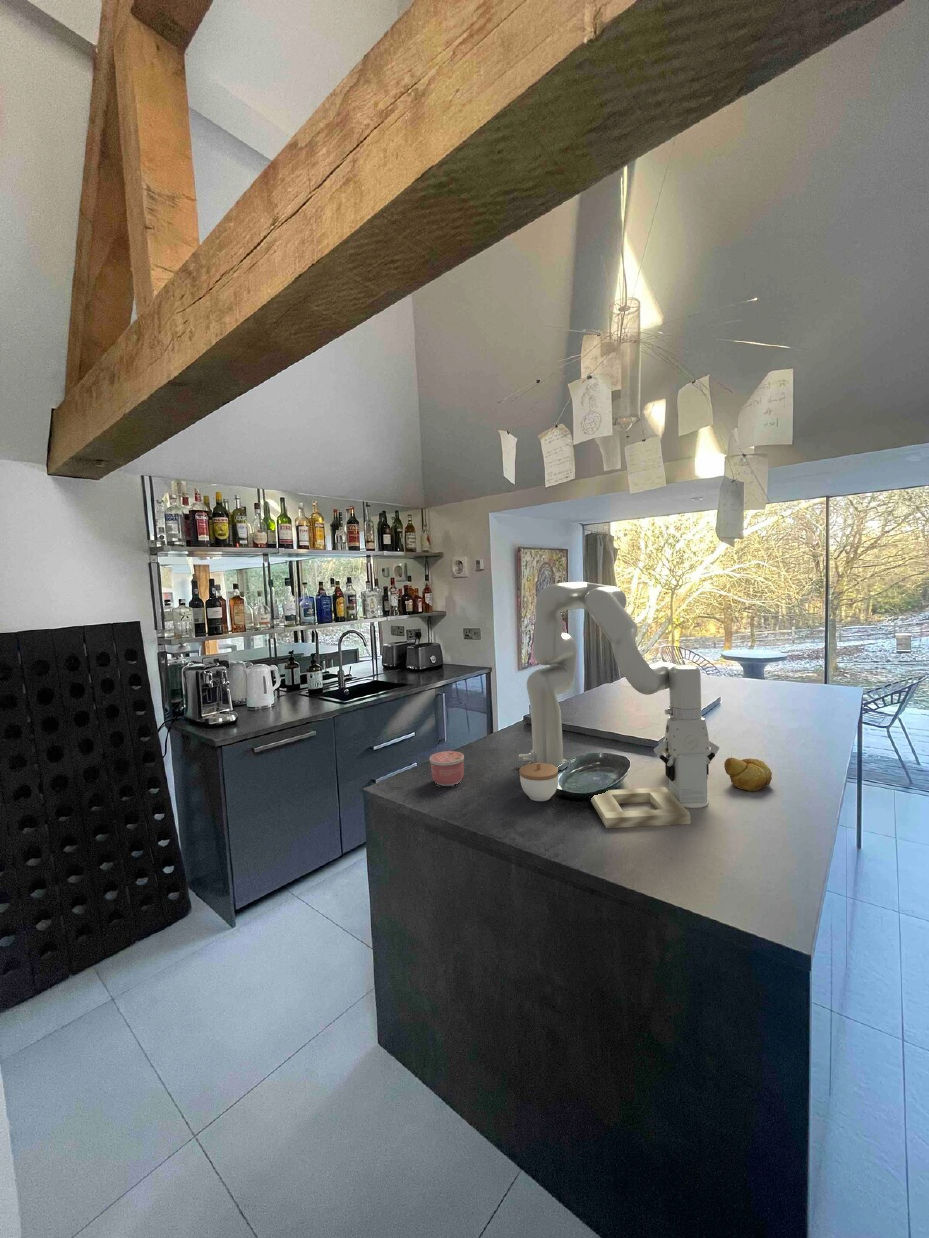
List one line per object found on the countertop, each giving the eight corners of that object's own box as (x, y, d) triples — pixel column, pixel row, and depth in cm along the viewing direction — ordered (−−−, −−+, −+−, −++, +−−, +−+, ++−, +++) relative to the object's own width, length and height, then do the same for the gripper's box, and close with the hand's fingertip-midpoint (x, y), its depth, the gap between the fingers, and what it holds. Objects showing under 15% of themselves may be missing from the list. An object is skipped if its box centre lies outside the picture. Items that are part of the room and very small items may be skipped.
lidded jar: (561, 789, 147) (559, 757, 146) (557, 806, 136) (556, 771, 136) (523, 787, 149) (522, 756, 149) (517, 803, 139) (515, 769, 138)
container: (458, 790, 150) (457, 763, 150) (425, 787, 154) (423, 761, 153) (469, 777, 160) (468, 751, 160) (438, 774, 164) (437, 750, 163)
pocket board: (606, 828, 123) (606, 817, 123) (590, 800, 139) (589, 790, 139) (690, 823, 123) (690, 813, 122) (664, 796, 139) (664, 787, 138)
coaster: (676, 809, 131) (676, 806, 131) (661, 793, 141) (661, 790, 141) (716, 807, 130) (716, 804, 130) (698, 791, 140) (698, 789, 140)
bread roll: (750, 775, 150) (750, 748, 149) (784, 785, 141) (783, 757, 141) (720, 784, 144) (720, 756, 144) (753, 796, 135) (753, 767, 135)
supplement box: (708, 802, 132) (707, 754, 131) (679, 803, 132) (678, 755, 131) (696, 791, 139) (695, 745, 138) (668, 792, 139) (667, 746, 139)
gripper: (657, 718, 130) (659, 785, 132) (726, 714, 130) (727, 782, 131) (646, 710, 138) (648, 774, 139) (712, 707, 138) (713, 771, 139)
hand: (687, 777), depth 135 cm, fingers open, 8 cm apart
